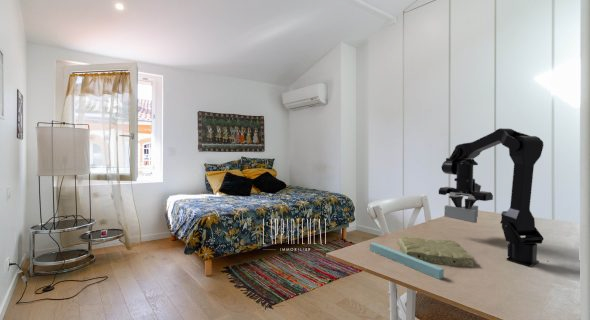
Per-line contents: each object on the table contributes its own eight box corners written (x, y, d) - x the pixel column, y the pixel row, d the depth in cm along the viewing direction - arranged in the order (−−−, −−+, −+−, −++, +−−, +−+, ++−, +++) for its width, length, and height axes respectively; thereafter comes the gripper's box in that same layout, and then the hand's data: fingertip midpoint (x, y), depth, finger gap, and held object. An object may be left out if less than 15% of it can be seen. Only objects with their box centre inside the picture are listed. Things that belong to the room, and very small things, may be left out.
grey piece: (490, 219, 117) (490, 208, 117) (474, 223, 111) (474, 211, 111) (460, 213, 128) (460, 203, 128) (444, 216, 122) (444, 205, 122)
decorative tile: (397, 244, 111) (397, 235, 111) (454, 248, 107) (455, 238, 107) (405, 263, 93) (405, 252, 93) (475, 269, 89) (476, 257, 89)
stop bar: (443, 277, 82) (443, 268, 82) (439, 279, 81) (439, 270, 81) (373, 249, 104) (374, 242, 104) (369, 250, 103) (369, 243, 103)
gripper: (500, 177, 114) (499, 217, 114) (453, 173, 130) (452, 208, 130) (485, 178, 108) (484, 220, 109) (438, 174, 124) (437, 211, 125)
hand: (463, 214), depth 118 cm, fingers closed on grey piece, 2 cm apart
